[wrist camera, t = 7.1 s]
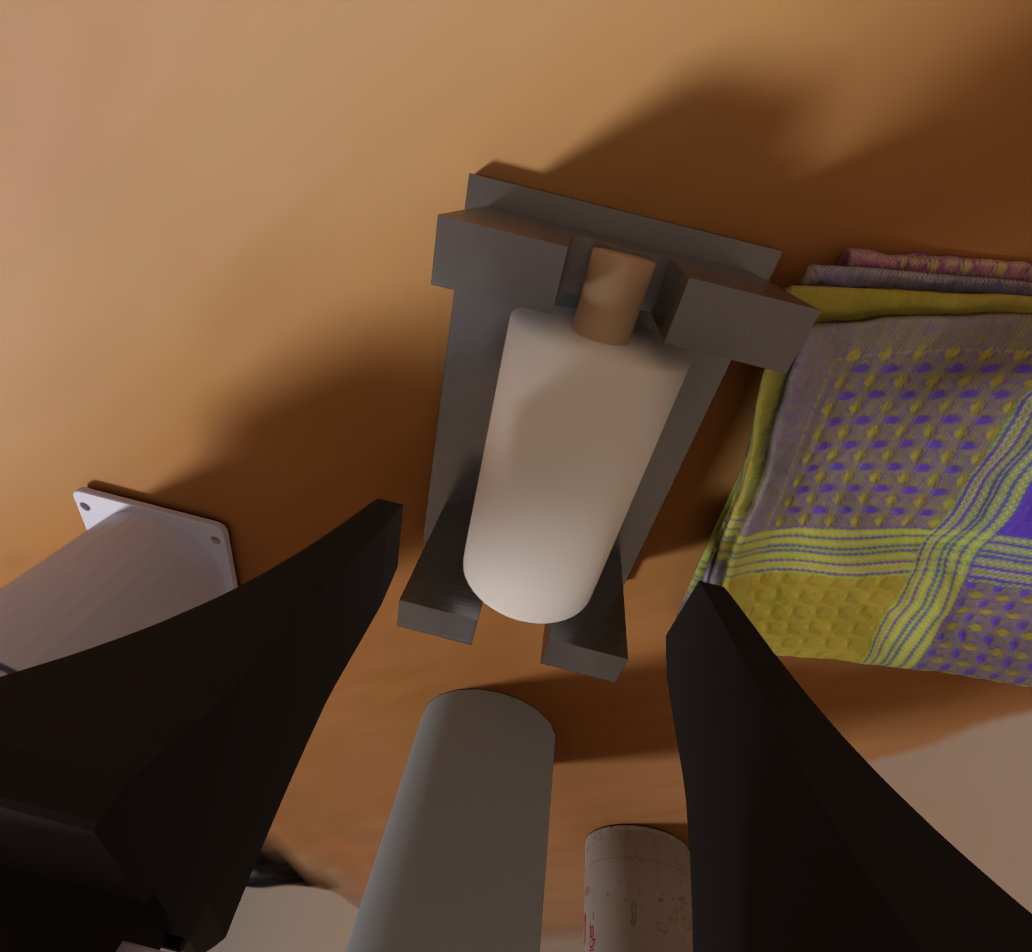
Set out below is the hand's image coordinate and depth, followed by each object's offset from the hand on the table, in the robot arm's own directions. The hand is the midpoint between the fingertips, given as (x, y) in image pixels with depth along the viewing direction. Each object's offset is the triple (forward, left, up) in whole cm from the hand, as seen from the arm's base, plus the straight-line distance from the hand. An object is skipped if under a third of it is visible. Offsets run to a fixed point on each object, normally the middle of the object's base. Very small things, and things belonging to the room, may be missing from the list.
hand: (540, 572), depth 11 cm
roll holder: (0, 0, -8) cm, 8 cm away
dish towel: (+1, -18, -9) cm, 20 cm away
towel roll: (0, 0, -5) cm, 5 cm away
